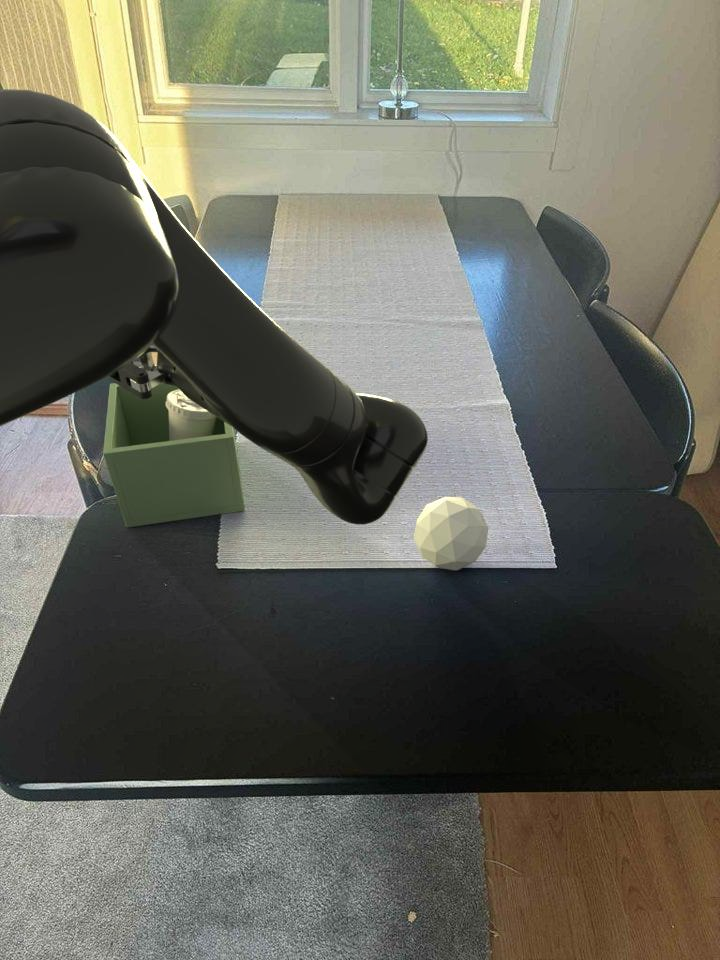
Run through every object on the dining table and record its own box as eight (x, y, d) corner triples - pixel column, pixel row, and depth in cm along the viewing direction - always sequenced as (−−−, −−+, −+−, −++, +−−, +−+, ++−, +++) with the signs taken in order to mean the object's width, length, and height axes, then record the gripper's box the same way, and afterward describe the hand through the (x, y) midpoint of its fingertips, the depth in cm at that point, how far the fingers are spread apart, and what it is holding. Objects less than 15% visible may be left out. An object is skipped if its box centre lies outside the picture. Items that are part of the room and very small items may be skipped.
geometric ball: (463, 581, 78) (498, 571, 71) (397, 564, 76) (426, 553, 69) (471, 516, 80) (506, 500, 73) (407, 498, 78) (437, 480, 71)
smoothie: (215, 485, 84) (232, 379, 78) (161, 484, 82) (173, 374, 75) (208, 459, 89) (222, 357, 83) (156, 457, 87) (167, 351, 80)
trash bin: (126, 528, 81) (102, 453, 73) (130, 455, 91) (110, 383, 83) (244, 510, 83) (233, 437, 75) (235, 441, 93) (225, 370, 85)
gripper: (292, 320, 67) (189, 270, 75) (169, 380, 59) (69, 317, 67) (297, 386, 72) (200, 332, 80) (183, 449, 64) (89, 382, 72)
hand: (140, 325), depth 74 cm, fingers open, 8 cm apart
